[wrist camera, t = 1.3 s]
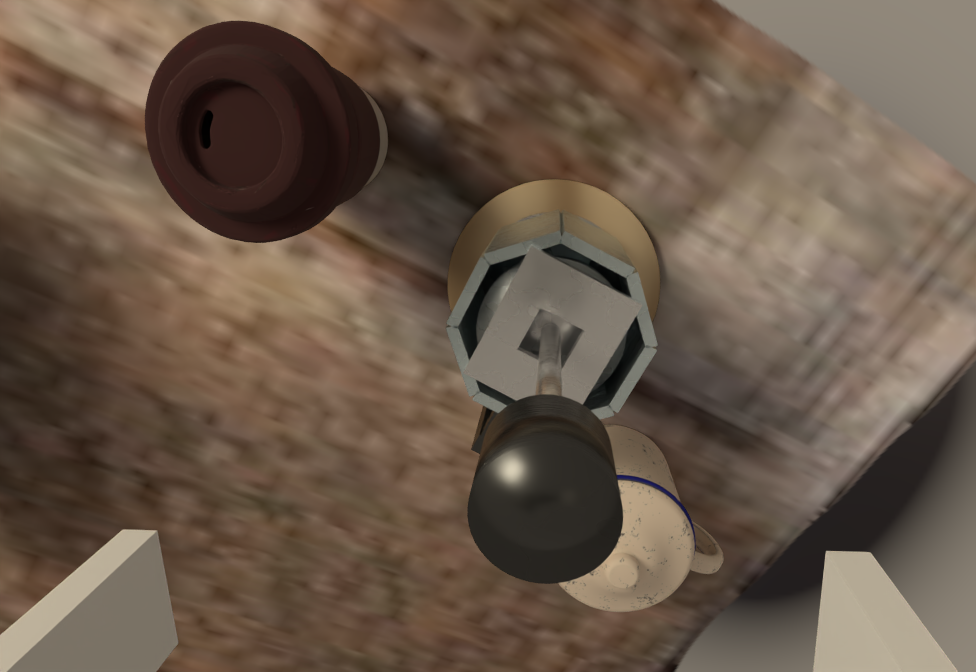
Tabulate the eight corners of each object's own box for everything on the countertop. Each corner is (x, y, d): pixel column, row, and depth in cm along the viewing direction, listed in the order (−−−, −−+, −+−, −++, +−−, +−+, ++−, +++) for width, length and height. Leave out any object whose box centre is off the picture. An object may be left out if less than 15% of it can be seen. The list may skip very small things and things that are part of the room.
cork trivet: (453, 384, 48) (452, 387, 48) (443, 182, 45) (442, 182, 44) (655, 385, 47) (656, 388, 46) (662, 175, 43) (664, 176, 43)
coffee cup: (441, 139, 44) (385, 138, 30) (340, 245, 46) (243, 291, 32) (329, 20, 43) (214, -41, 28) (231, 136, 45) (80, 134, 31)
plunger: (453, 355, 36) (354, 560, 19) (520, 228, 34) (480, 323, 16) (579, 421, 37) (600, 684, 19) (653, 299, 34) (756, 467, 17)
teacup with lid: (525, 506, 50) (517, 609, 39) (574, 400, 48) (579, 478, 37) (676, 565, 51) (710, 685, 39) (732, 463, 48) (786, 560, 37)
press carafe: (433, 353, 47) (391, 424, 35) (520, 183, 44) (507, 199, 32) (561, 419, 48) (562, 511, 36) (658, 257, 44) (695, 299, 32)
